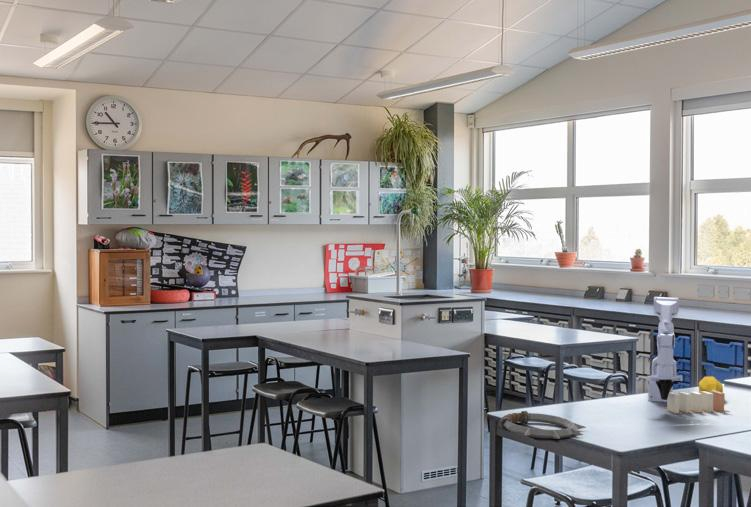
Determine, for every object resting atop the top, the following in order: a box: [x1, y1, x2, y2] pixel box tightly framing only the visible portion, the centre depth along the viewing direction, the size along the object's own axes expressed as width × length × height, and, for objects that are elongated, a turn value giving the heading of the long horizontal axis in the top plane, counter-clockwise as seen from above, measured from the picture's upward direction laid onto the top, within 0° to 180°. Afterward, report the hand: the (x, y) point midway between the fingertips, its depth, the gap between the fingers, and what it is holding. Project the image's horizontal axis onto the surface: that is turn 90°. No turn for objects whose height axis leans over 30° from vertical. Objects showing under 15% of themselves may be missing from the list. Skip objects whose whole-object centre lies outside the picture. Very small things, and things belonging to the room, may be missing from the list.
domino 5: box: [712, 391, 726, 411], centre depth 332 cm, size 2×5×7 cm, turn 15°
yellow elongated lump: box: [698, 376, 724, 394], centre depth 357 cm, size 10×30×10 cm, turn 164°
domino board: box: [660, 408, 731, 415], centre depth 329 cm, size 26×8×1 cm, turn 104°
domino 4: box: [701, 391, 713, 412], centre depth 330 cm, size 2×5×7 cm, turn 14°
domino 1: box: [666, 391, 680, 413], centre depth 327 cm, size 2×5×7 cm, turn 14°
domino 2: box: [678, 391, 691, 412], centre depth 328 cm, size 2×5×7 cm, turn 14°
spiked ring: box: [498, 410, 587, 440], centre depth 291 cm, size 33×5×30 cm
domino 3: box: [689, 391, 702, 412], centre depth 329 cm, size 2×5×7 cm, turn 14°
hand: (664, 399), depth 326 cm, fingers closed
